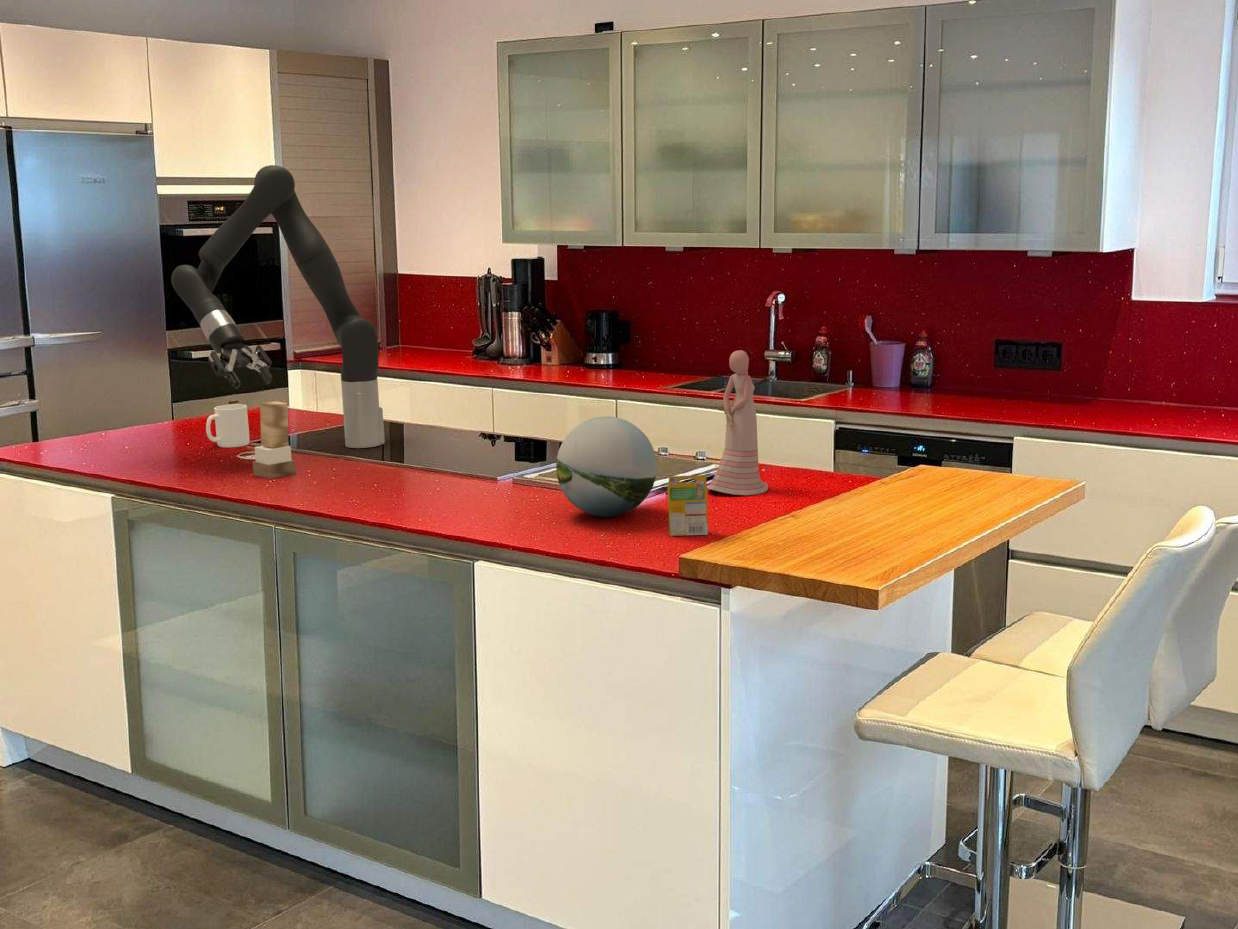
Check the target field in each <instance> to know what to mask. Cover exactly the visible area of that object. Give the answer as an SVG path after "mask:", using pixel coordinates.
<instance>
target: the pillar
mask: <svg viewBox="0 0 1238 929" xmlns="http://www.w3.org/2000/svg"><path fill="white" fill-rule="evenodd" d="M259 404H260V405H259V408H260V410H259V411H260V415H259V416H260V417H259V418H260V446H266V447H271V448H274V447H282V446H290V445H289V405H288V404H289V403H287V402H281V401H268V402H260V403H259Z"/></svg>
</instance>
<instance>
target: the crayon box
mask: <svg viewBox="0 0 1238 929" xmlns="http://www.w3.org/2000/svg"><path fill="white" fill-rule="evenodd" d="M686 479H689V480H695V481H691V482H685V481H684V482H683V481H682V482H681V480H686ZM707 488H708V485H707V474H699V475H698V474H695V475H674V476H672V475H669V476H668V483H667V511H668V512H667V515H668V535H669V537H672V538H673V537H680V536H682V537H683V536H684V537H685V536H708V535H709V525H708V523H709V521H708V519H709V518H708V517H709V516H708V510H709V509H708V489H707Z"/></svg>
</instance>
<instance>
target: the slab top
mask: <svg viewBox="0 0 1238 929" xmlns="http://www.w3.org/2000/svg"><path fill="white" fill-rule="evenodd" d="M254 456H255V458H254V459H255V461H256V462H258V463H262V464H267V465H272V464H278V463H283V462H288V461H292V460H293V459H292V449H291V445H289V446H282V447H274V448H271V447H266V446H262V445H259V446H254Z"/></svg>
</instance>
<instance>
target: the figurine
mask: <svg viewBox="0 0 1238 929" xmlns="http://www.w3.org/2000/svg"><path fill="white" fill-rule="evenodd" d="M749 363H750V358H749V356H748V354H747V352H746V351H745V350H742V349H741V350H735V351H733V352H732V353H731V354H730V356H729V364H728V366H729V368H730V370H731V371H732V372H733V374H732V375H730V377H729V380H728V383H727V385H726V388H725V389H724V390H725V391H724V394H723V400H722V401H723V405H724V409H723V412H724V415H725V421H726V424H725V436H724V438H725V439H724V449H723V453H722V455H721V458H720V461H719V463H718V466H717V469H716V472H715V474H714V475H713V478H712V479H711V482H710V483H709V485H708V486H707V490H710V491H711V490H712V491H715V492H719V493H723V494H728V495H733V496H756V495H760V494H764V493H766V492H768V490H769V484H767V483H766V482H765V481H763V480H762V479H761V476H760V472H759V470H760V469H759V448H758V422H757V419H758V418H757V411H756V405H755V401H754V391H755V385H754V383H753V380H752V377H751V376H750V375H749V372H748V370H749ZM733 388H734V390H735V395H734V399H733V401H732V403H731V405H730V396H731V393H732V391H733Z"/></svg>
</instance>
